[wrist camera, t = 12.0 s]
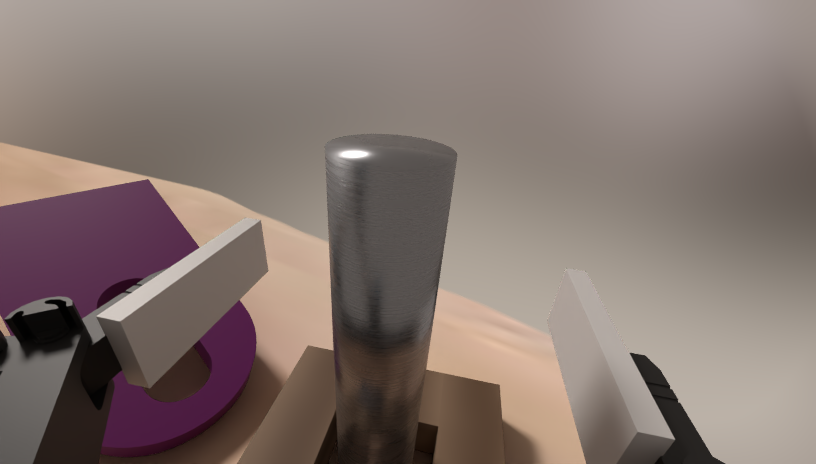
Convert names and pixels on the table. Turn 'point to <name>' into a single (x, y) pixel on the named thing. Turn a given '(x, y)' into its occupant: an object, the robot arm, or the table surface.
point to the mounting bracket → (109, 277)
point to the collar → (437, 428)
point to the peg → (384, 285)
